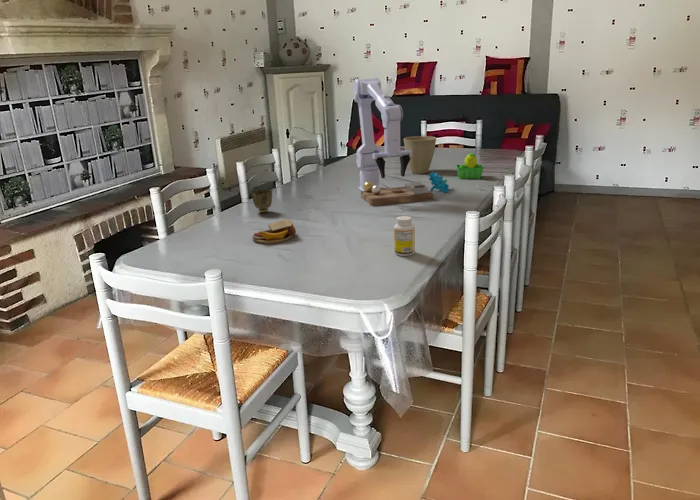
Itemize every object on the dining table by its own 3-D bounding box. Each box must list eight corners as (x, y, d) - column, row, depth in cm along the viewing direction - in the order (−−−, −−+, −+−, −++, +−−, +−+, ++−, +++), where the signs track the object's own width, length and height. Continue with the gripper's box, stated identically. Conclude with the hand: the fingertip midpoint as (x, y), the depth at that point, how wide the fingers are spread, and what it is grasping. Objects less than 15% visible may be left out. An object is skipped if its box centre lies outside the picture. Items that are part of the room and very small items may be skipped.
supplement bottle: (402, 248, 159) (401, 214, 156) (418, 252, 156) (418, 216, 152) (390, 254, 155) (389, 218, 152) (407, 258, 152) (406, 221, 148)
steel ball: (370, 193, 214) (370, 184, 213) (379, 192, 215) (379, 183, 214) (373, 195, 211) (373, 186, 210) (382, 194, 212) (382, 185, 211)
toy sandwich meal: (252, 234, 179) (250, 220, 177) (294, 231, 181) (293, 216, 179) (253, 246, 167) (251, 231, 166) (298, 242, 169) (297, 227, 168)
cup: (277, 210, 206) (275, 188, 203) (268, 215, 199) (266, 193, 197) (259, 209, 208) (257, 188, 206) (249, 214, 202) (247, 192, 199)
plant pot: (437, 175, 255) (438, 139, 250) (405, 176, 255) (404, 140, 250) (433, 168, 269) (434, 135, 264) (402, 169, 270) (402, 136, 264)
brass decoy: (362, 191, 219) (361, 181, 218) (372, 190, 220) (371, 180, 219) (365, 193, 215) (364, 183, 214) (375, 192, 216) (374, 182, 215)
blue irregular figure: (440, 191, 217) (426, 171, 220) (430, 200, 221) (417, 180, 223) (455, 189, 225) (442, 170, 228) (445, 198, 229) (432, 179, 232)
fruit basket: (481, 175, 250) (482, 150, 246) (484, 179, 242) (485, 153, 238) (455, 176, 251) (456, 150, 248) (457, 180, 243) (457, 154, 239)
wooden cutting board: (361, 197, 220) (360, 191, 219) (418, 191, 225) (418, 185, 224) (371, 205, 206) (371, 199, 206) (432, 199, 212) (432, 193, 211)
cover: (405, 189, 219) (405, 182, 218) (418, 187, 220) (418, 180, 219) (413, 194, 210) (413, 187, 209) (427, 193, 211) (427, 185, 210)
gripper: (376, 142, 198) (377, 180, 202) (415, 139, 201) (415, 177, 205) (370, 140, 204) (371, 177, 208) (408, 137, 207) (408, 173, 212)
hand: (392, 176), depth 207 cm, fingers open, 7 cm apart
